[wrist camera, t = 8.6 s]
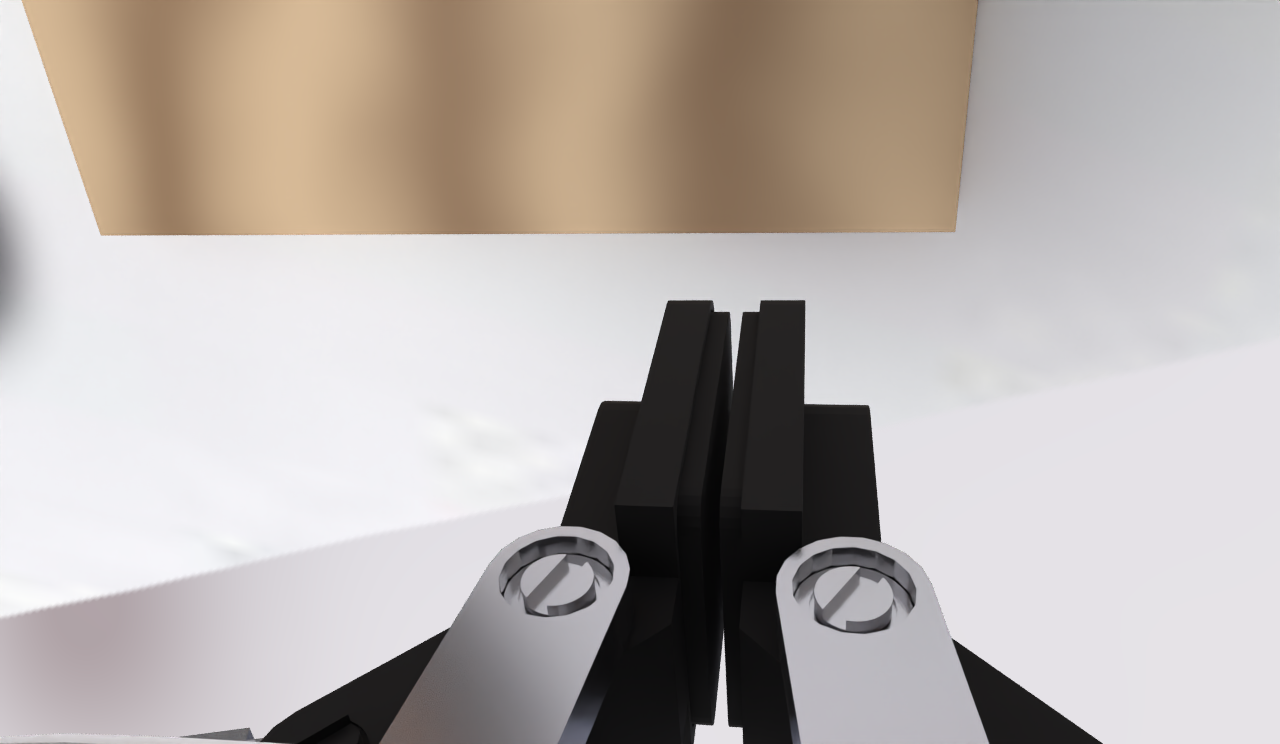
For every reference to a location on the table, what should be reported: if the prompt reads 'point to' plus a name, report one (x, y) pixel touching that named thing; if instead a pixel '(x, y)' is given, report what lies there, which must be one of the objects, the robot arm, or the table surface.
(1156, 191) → the table surface
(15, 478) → the table surface
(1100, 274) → the table surface
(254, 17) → the plank
